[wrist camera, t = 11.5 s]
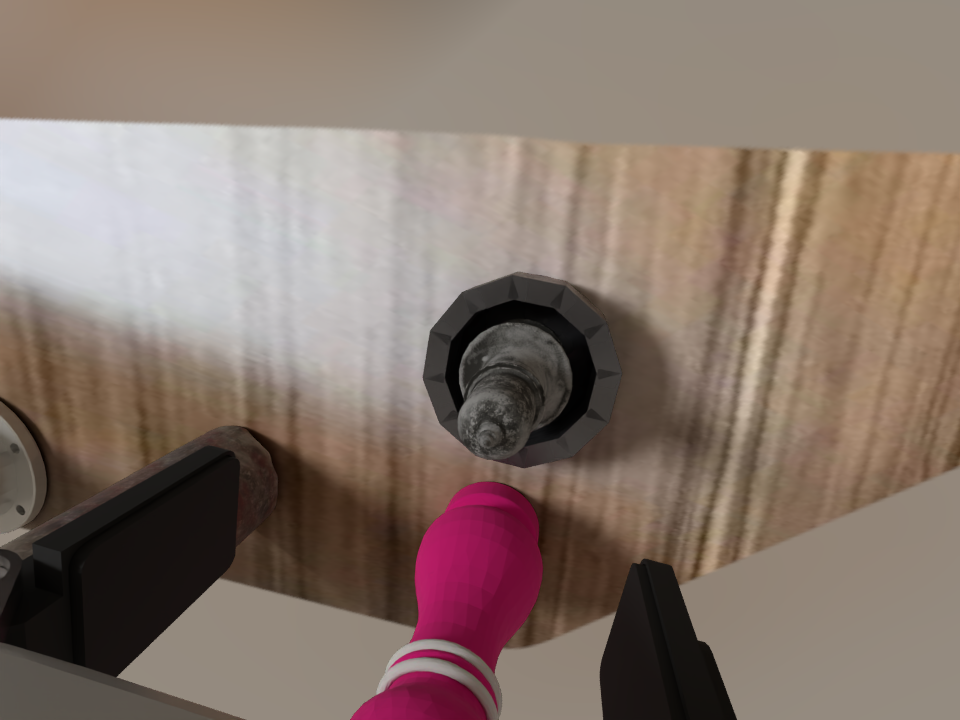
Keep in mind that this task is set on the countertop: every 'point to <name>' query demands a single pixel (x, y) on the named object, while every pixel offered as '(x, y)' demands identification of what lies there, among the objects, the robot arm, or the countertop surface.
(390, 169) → the countertop surface
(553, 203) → the countertop surface
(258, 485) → the candle
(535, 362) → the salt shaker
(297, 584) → the countertop surface
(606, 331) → the dark gray faceted bowl
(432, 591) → the pepper mill
